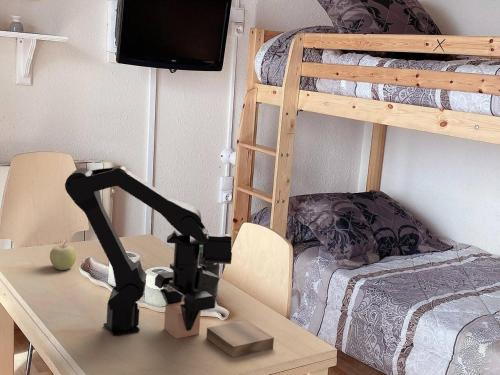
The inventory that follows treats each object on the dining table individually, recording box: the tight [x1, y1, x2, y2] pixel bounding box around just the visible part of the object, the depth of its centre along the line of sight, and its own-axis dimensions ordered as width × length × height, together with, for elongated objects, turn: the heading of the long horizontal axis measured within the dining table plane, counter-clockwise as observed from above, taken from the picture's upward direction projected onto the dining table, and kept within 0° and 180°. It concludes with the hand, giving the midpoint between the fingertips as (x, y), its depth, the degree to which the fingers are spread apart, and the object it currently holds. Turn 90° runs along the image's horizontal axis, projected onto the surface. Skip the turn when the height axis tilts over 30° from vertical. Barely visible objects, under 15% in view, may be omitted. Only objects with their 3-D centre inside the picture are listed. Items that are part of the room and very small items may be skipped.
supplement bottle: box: [195, 250, 221, 298], centre depth 175 cm, size 7×7×12 cm
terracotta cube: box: [163, 301, 202, 339], centre depth 150 cm, size 6×6×6 cm
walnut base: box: [205, 319, 275, 358], centre depth 146 cm, size 11×11×2 cm
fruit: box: [49, 242, 77, 271], centre depth 186 cm, size 8×7×8 cm
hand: (181, 325), depth 150 cm, fingers closed on terracotta cube, 6 cm apart
